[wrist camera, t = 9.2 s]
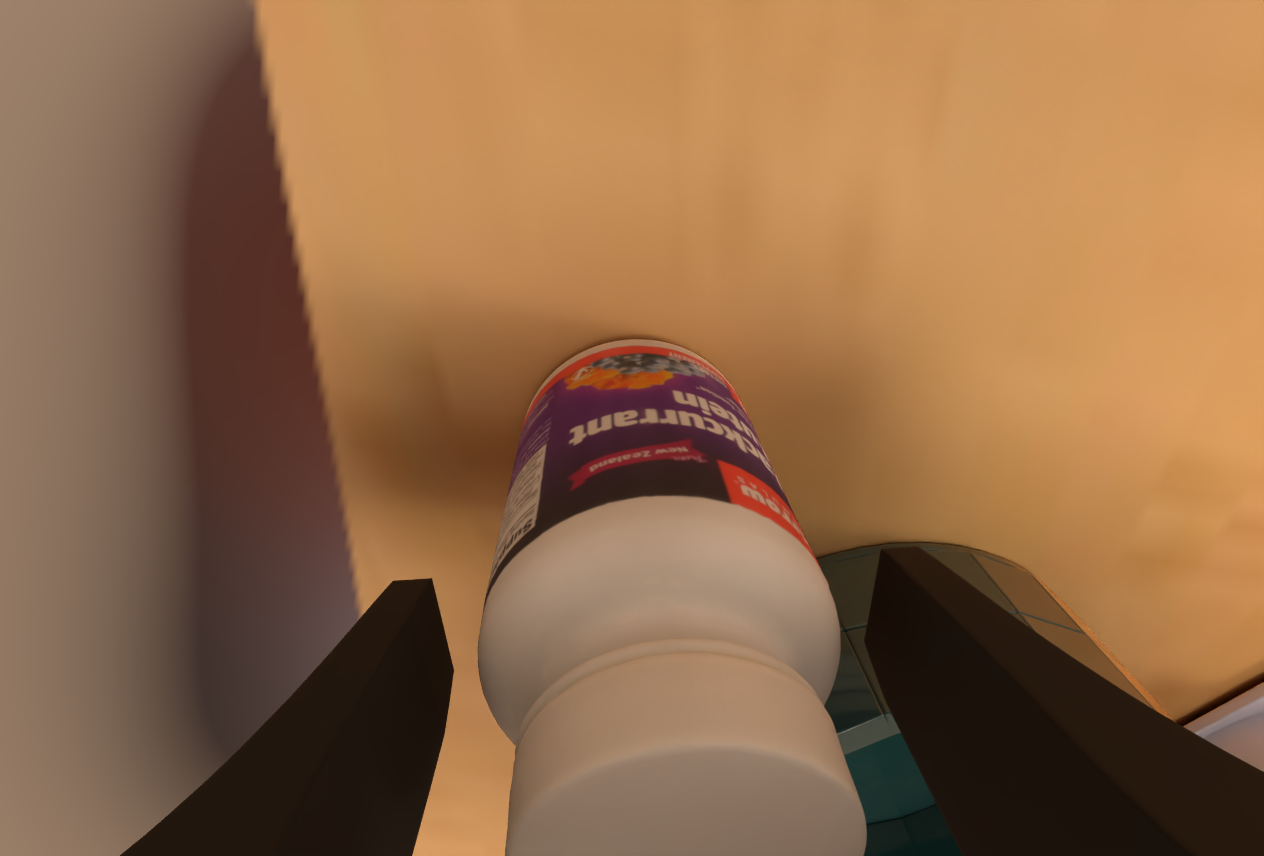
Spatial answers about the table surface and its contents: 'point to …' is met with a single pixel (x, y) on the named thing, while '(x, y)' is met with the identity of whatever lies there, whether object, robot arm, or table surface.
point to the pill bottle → (660, 627)
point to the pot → (869, 737)
